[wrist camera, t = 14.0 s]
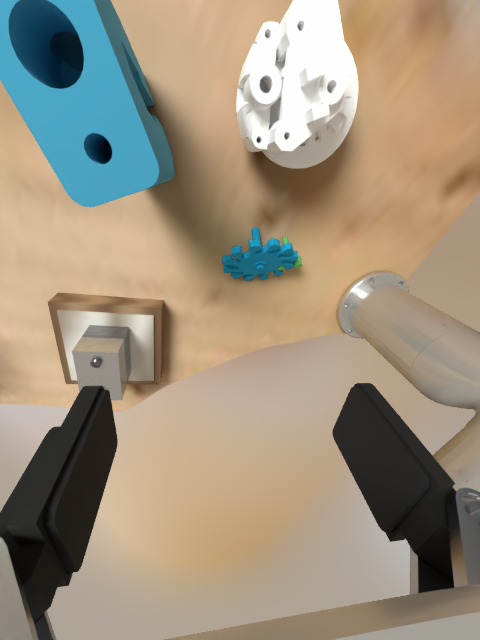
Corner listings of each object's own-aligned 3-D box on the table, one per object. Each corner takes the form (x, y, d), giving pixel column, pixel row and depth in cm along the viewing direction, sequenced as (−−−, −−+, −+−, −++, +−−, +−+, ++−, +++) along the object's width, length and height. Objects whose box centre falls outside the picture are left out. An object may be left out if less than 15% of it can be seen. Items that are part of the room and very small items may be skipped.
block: (82, 57, 25) (-166, -201, 8) (131, 40, 25) (-9, -259, 8) (141, 190, 31) (78, 212, 14) (180, 177, 31) (165, 182, 14)
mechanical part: (321, 172, 33) (378, 172, 23) (229, 165, 31) (247, 161, 21) (344, 52, 28) (432, -19, 17) (234, 34, 26) (261, -57, 15)
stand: (163, 300, 38) (160, 310, 36) (162, 372, 45) (160, 385, 42) (58, 292, 35) (46, 303, 33) (73, 370, 42) (65, 385, 39)
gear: (214, 282, 37) (235, 246, 27) (211, 246, 38) (231, 199, 29) (283, 285, 40) (322, 254, 31) (278, 251, 42) (313, 212, 33)
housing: (128, 326, 36) (117, 354, 31) (131, 370, 40) (121, 402, 34) (89, 325, 35) (70, 353, 29) (96, 370, 39) (80, 402, 33)
